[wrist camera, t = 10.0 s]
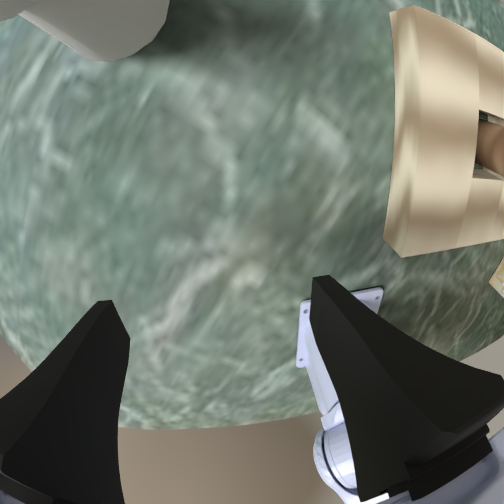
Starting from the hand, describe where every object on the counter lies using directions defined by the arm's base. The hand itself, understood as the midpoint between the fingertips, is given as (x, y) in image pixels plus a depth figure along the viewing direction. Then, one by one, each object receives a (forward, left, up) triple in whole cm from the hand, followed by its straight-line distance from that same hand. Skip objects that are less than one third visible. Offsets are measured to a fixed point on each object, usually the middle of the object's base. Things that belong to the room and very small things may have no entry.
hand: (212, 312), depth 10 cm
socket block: (+5, -22, -10) cm, 25 cm away
